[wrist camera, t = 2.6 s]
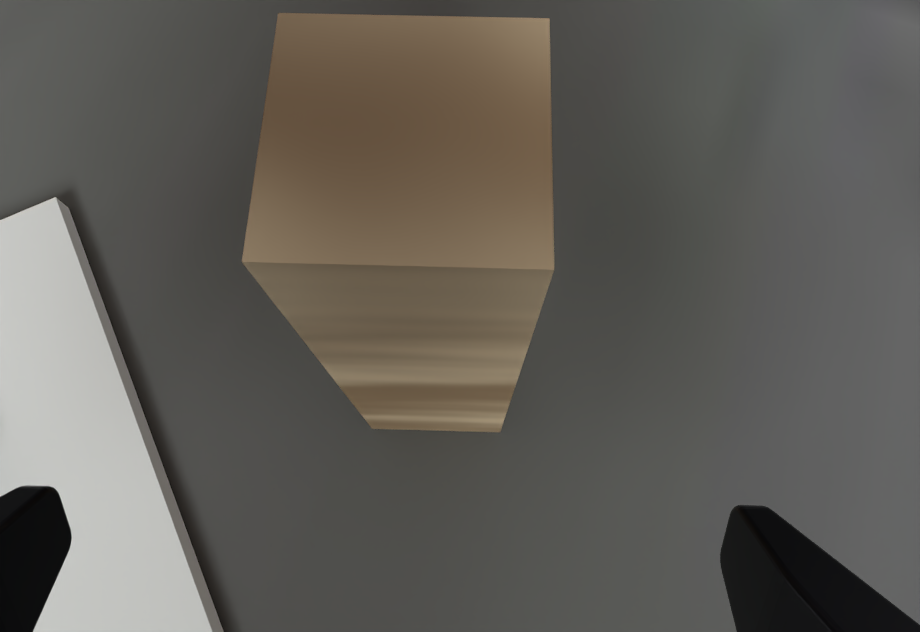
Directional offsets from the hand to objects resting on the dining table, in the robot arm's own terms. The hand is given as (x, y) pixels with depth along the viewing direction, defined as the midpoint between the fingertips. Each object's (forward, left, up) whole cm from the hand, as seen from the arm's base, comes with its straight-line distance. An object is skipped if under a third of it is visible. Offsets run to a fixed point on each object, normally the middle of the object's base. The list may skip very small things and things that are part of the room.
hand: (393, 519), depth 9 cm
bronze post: (+3, -4, -11) cm, 13 cm away
